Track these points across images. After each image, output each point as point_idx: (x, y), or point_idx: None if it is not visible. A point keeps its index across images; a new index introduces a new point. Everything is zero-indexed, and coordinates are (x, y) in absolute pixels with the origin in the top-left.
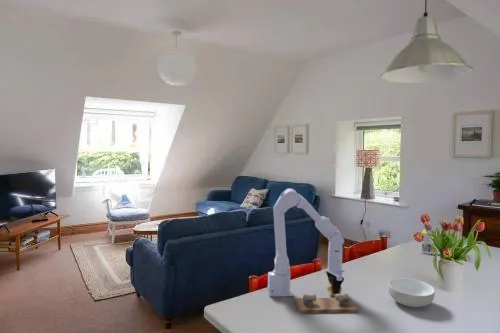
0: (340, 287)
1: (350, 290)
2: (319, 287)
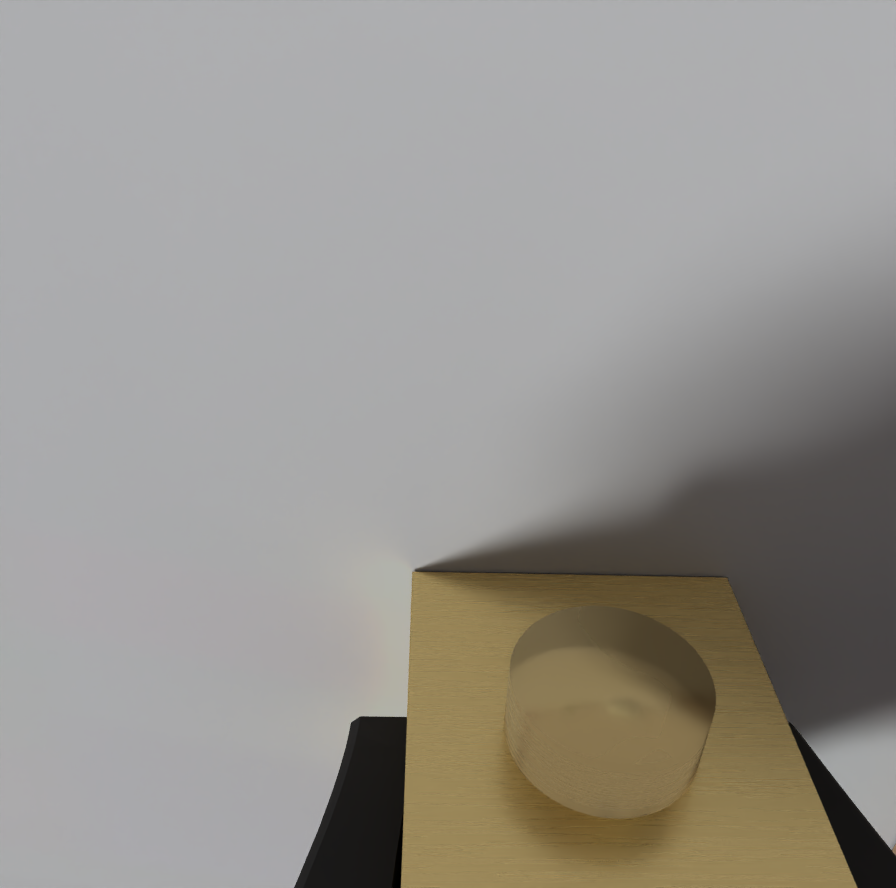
0: (840, 858)
1: (211, 27)
2: (86, 862)
